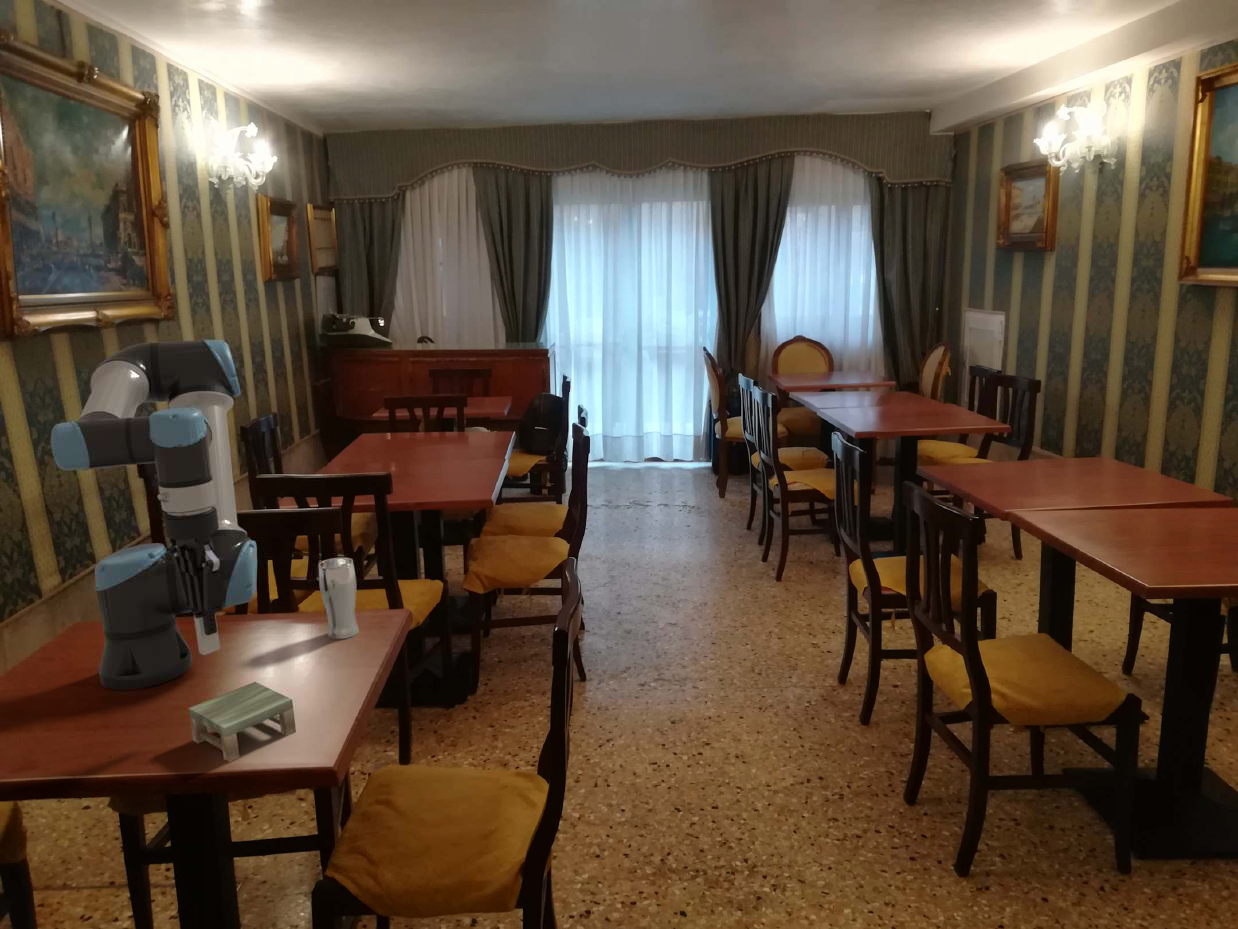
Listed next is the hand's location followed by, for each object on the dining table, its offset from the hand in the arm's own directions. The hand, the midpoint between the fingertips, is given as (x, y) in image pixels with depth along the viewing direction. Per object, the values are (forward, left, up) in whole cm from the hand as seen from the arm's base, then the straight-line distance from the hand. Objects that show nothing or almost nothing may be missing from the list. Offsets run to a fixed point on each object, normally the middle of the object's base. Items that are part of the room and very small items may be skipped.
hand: (209, 651), depth 142 cm
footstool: (+3, 0, -9) cm, 10 cm away
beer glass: (-14, +33, -12) cm, 38 cm away
